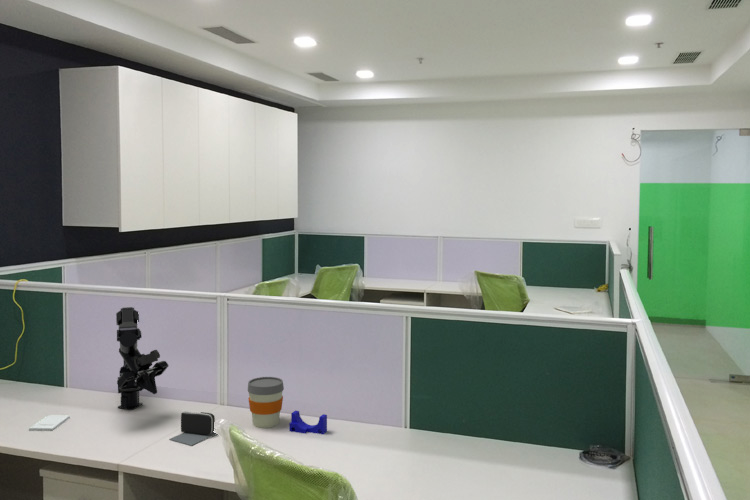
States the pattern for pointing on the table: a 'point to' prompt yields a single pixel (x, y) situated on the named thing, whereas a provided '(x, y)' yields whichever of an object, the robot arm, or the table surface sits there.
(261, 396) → the reusable coffee cup
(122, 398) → the robot arm
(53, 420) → the external hard drive
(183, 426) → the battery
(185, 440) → the mat
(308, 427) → the blue cradle bracket
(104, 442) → the table surface
